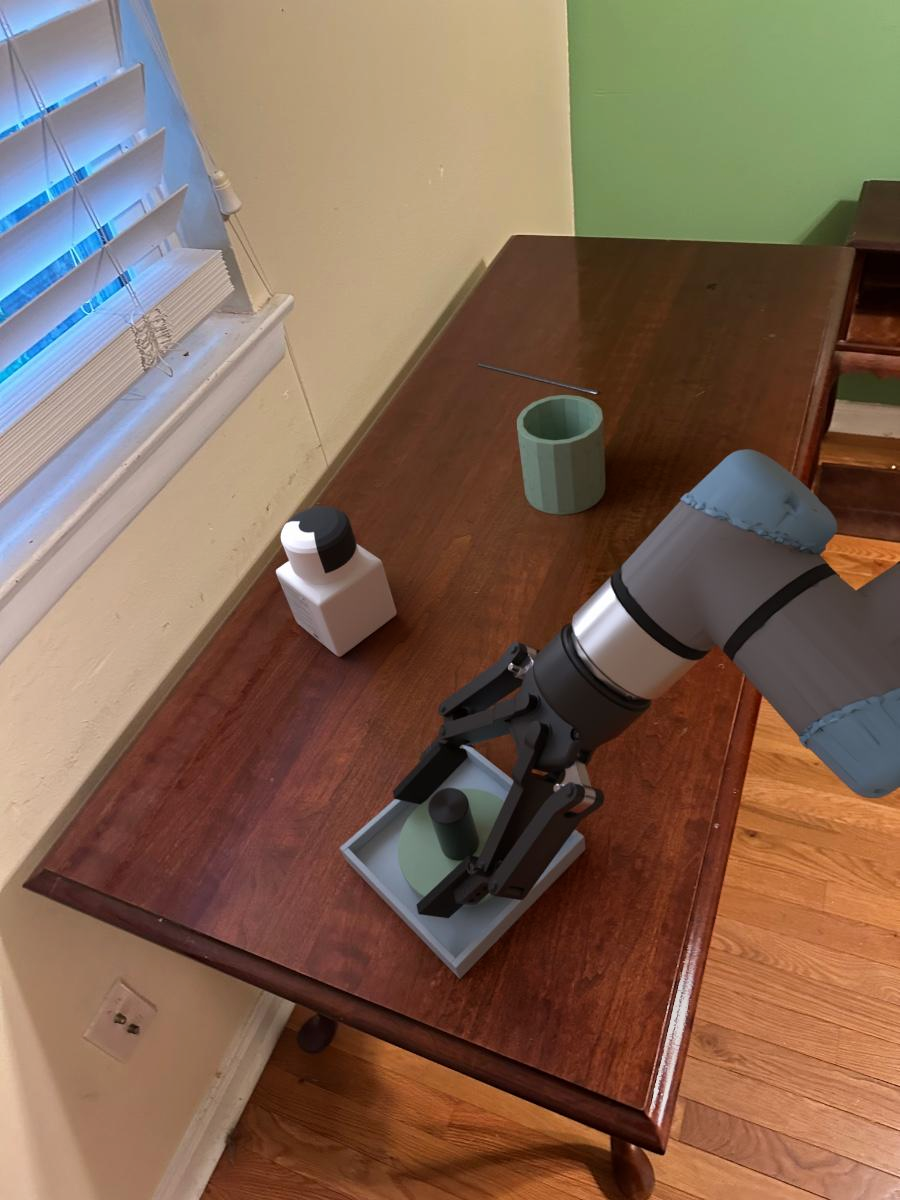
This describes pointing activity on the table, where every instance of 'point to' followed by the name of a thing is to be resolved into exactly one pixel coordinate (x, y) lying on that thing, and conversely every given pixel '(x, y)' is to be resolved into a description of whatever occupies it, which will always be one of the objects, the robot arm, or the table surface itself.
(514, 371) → the rod
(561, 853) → the tray
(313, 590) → the container
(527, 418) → the faceted green cup
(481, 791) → the lid
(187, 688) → the table surface
